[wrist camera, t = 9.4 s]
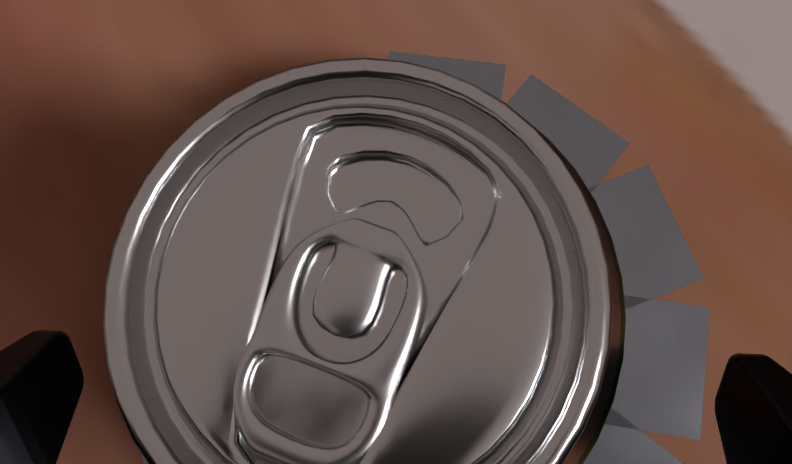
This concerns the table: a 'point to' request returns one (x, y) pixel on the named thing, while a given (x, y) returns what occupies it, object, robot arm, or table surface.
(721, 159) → the table surface
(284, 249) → the soda can
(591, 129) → the ring
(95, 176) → the table surface
